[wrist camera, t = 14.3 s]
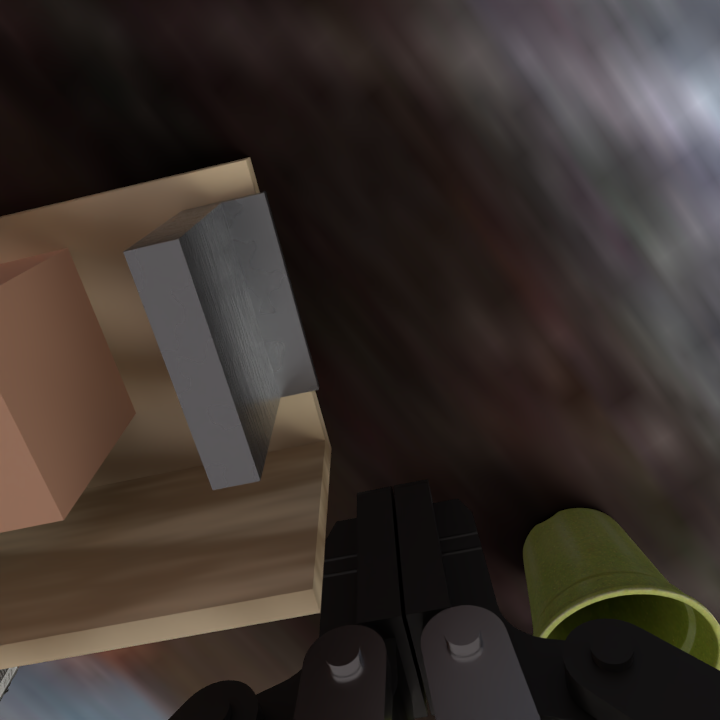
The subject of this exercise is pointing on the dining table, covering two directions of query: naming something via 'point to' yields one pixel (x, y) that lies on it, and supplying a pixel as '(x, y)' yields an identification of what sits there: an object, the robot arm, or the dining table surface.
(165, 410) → the rack
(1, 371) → the tan rectangular block
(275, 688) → the robot arm
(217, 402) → the bookend
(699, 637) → the plant pot
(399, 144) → the dining table surface
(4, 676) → the supplement bottle
